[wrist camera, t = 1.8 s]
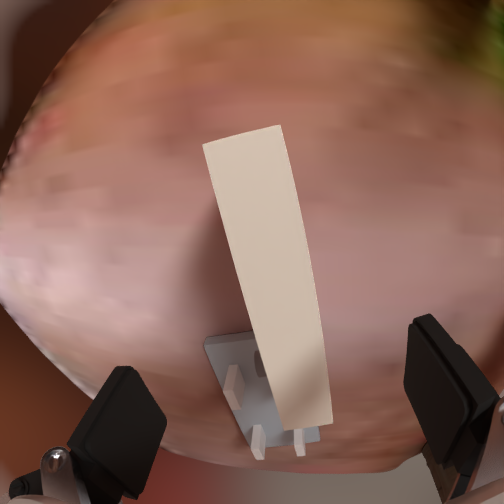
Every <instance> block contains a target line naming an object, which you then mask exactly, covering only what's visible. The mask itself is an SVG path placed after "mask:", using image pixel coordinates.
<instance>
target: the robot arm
mask: <svg viewBox="0 0 504 504" xmlns="http://www.w3.org/2000/svg"><path fill="white" fill-rule="evenodd" d="M404 389H405V392H406V394H407V396H408V398H409V401H410V403H411V405H412V407H413V409H414V412H415V414H416V416H417V419H418V421H419V423H420V425H421V428H422V430H423V432H424V435H425V437H426V440H427V442H428V445H429V447H430V450H431V452H432V455H433V457H434V460H435V462H436V463H437V464H438V465H440V464H442V467H443V469H444V470H445V469H447V468H450V467H452V466H455V469H456V471H457V473H458V475H457V478H456V480H455V483H454V485H453V487H452V489H451V492H450V494H449V496H448V498H447V500H446V502H445V503H443V504H504V397H502V398H500V397H499V395H498V394H497V392H496V391H495V390H494V388H493V387H492V385H491V384H490V383H489V381H488V380H487V379H486V377H485V376H484V375H483V373H482V372H481V371H480V369H479V368H478V367H477V365H476V364H475V363H474V361H473V360H472V359H471V358H470V356H469V355H468V354H467V353H466V351H465V350H464V349H463V348H462V347H461V346H460V345H458V344H456V343H455V342H454V340H453V339H452V338H451V337H450V336H449V334H448V333H447V332H446V331H445V330H444V328H443V327H442V326H441V325H440V324H439V323H438V321H437V320H436V319H435V318H434V317H433V316H432V315H431V314H426V315H423V316H420V317H416V318H414V319H413V323H412V324H410V325H409V327H408V342H407V354H406V365H405V374H404ZM166 425H167V419H166V416H165V415H164V413H163V412H162V410H161V409H160V407H159V406H158V404H157V403H156V401H155V400H154V398H153V396H152V395H151V393H150V392H149V390H148V388H147V387H146V385H145V383H144V382H143V380H142V378H141V377H140V375H139V373H138V372H137V371H136V370H134V368H133V367H131V366H117V367H115V368H114V370H113V371H112V373H111V374H110V376H109V377H108V379H107V380H106V382H105V383H104V385H103V386H102V388H101V389H100V391H99V393H98V394H97V396H96V397H95V399H94V400H93V402H92V404H91V405H90V407H89V408H88V410H87V411H86V413H85V415H84V416H83V418H82V419H81V421H80V423H79V424H78V426H77V427H76V429H75V431H74V432H73V434H72V436H71V437H70V439H69V441H68V442H67V445H68V447H69V448H71V451H70V452H69V451H68V450H67V449H66V448H64V447H53V448H51V449H49V450H48V451H47V452H46V453H45V454H44V455H43V457H42V459H41V462H40V469H38V470H36V471H34V472H31V473H29V474H26V475H23V476H21V477H19V478H17V479H15V480H14V481H12V482H11V484H10V488H9V493H8V492H7V493H5V494H4V495H3V496H1V497H0V504H123V503H122V500H121V497H122V495H123V496H125V497H127V498H131V499H135V500H137V499H138V496H139V494H141V493H142V492H143V490H144V487H145V485H146V481H147V479H148V476H149V473H150V470H151V467H152V464H153V462H154V459H155V456H156V453H157V450H158V448H159V445H160V442H161V439H162V437H163V434H164V431H165V428H166Z"/></svg>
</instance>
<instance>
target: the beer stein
mask: <svg viewBox="0 0 504 504" xmlns="http://www.w3.org/2000/svg"><path fill="white" fill-rule="evenodd" d="M422 453H423V456H424V458H425V459H426V462H427V466H428V467H429V469H430V471H431V474H432V477H433V479H434V482H435V485H436V488H437V490H438V493H439V496H440V498H441V501H442V504H443V503H445V502H446V500H447V498H448V496H449V494H450V492H451V489H452V487H453V485H454V483H455V480H456V478H457V475H458V473H457V471H456V469H455V466H452V467H450V468H447V469H445V470H444V469H443V467H442V464H440V465H438V464H437V463H436V462H435V460H434V457H433V455H432V452H431V450H430V447H429V445H428V442H427V443H426V445H425V446H424V448H423V450H422Z"/></svg>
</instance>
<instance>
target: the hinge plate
mask: <svg viewBox="0 0 504 504" xmlns="http://www.w3.org/2000/svg"><path fill="white" fill-rule="evenodd" d="M203 346H204V348H205V351H206V353H207V355H208V358H209V360H210V363H211V365H212V367H213V370H214V372H215V374H216V377H217V379H218V381H219V383H220V386H221V388H222V390H223V393H224V395H225V397H226V399H227V401H228V404H229V406H230V408H231V410H232V412H233V414H234V416H235V418H236V420H237V422H238V424H239V426H240V429H241V431H242V433H243V435H244V437H245V439H246V441H247V443H248V445H249V446H250V448H251V450H252V452H253V454H254V456H255V458H256V460H264V456H265V447H276V446H286V445H294V447H295V450H296V453H297V456H305V443H309V442H316V441H320V433H319V426H314V427H308V428H301V429H294V430H286V431H284V429H283V426H282V423H281V420H280V416H279V413H278V410H277V407H276V404H275V400H274V397H273V394H272V391H271V387H270V384H269V381H268V378H267V377H260V378H259V377H258V376H257V373H256V369H255V363H254V353H255V351H257V350H259V348H258V344H257V341H256V338H255V334H254V331H248V332H242V333H235V334H227V335H220V336H212V337H206V340H205V342H204V345H203Z"/></svg>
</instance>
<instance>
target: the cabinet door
mask: <svg viewBox="0 0 504 504" xmlns="http://www.w3.org/2000/svg"><path fill="white" fill-rule="evenodd" d="M202 145H203V149H204V153H205V157H206V161H207V165H208V169H209V173H210V176H211V180H212V184H213V188H214V191H215V195H216V199H217V203H218V206H219V210H220V214H221V218H222V221H223V225H224V229H225V232H226V236H227V240H228V243H229V247H230V250H231V254H232V258H233V261H234V265H235V268H236V272H237V275H238V279H239V282H240V286H241V289H242V293H243V296H244V300H245V303H246V307H247V310H248V314H249V317H250V321H251V324H252V327H253V331H254V334H255V338H256V341H257V344H258V348H259V350H257V351H255V353H254V363H255V369H256V373H257V376H258V377H259V378H260V377H267V378H268V381H269V384H270V387H271V391H272V394H273V397H274V400H275V404H276V407H277V410H278V413H279V416H280V420H281V423H282V426H283V429H284V431H286V430H294V429H301V428H308V427H314V426H320V425H326V424H331V423H333V416H332V406H331V396H330V388H329V379H328V371H327V363H326V355H325V348H324V341H323V334H322V327H321V321H320V314H319V308H318V302H317V296H316V290H315V284H314V278H313V272H312V267H311V261H310V256H309V251H308V246H307V240H306V235H305V230H304V225H303V220H302V216H301V211H300V206H299V202H298V197H297V192H296V188H295V183H294V179H293V175H292V170H291V166H290V162H289V158H288V154H287V150H286V146H285V142H284V138H283V134H282V130H281V126H280V125H276V126H271V127H267V128H263V129H258V130H254V131H250V132H246V133H242V134H238V135H234V136H230V137H227V138H223V139H220V140H216V141H212V142H209V143H206V144H202Z"/></svg>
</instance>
